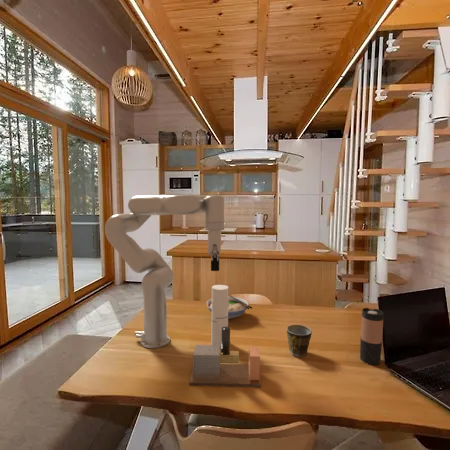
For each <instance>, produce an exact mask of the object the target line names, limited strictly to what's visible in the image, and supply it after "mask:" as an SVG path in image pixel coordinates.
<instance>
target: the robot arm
mask: <svg viewBox="0 0 450 450" xmlns="http://www.w3.org/2000/svg"><path fill="white" fill-rule="evenodd" d="M127 208H128V210H129V212H128V213H127V212H126V213H118V214H114V215H111V216H110V217H109V218H108V219H107V221H106V222H105V225H104V234H105V237H106V239H107V241H108V243H109V244H110V245H111V246H112V247H113V248H114V249H115V250H116V252H117V253H118V254H119V255H120V257H121V258H122V260H123V261H124V262H125V263H126V265H127V266H129V269H131V270H132V271H133V272H134V273H136V274H141V273H145V272H147V273H146V274H145V275H144V276H143V277H142V280H141V289H142V295H143V330H142V331H140V330H138V331H137V330H135V331H134V336H135V339H140V345H141V346H142V347H144V348H147V349H159V348H162V347H165V346H167V345H168V344H169V343H170V342H171V337H170V335H168V333H167V332H168V331H167V330H168V329H167V324H168V323H167V318H168V317H167V316H168V315H167V297H166V293H165V289H166V288H168V287H169V286H170V285H171V284H172V283H173V282H174V280H175V273H174V271H173V270H172V268H171V267H170V265H169V264H168V263H167V261H165V260H164V258H163V257H162V256H161V254H160V253H159V252H158V251H157V250H155V249H154V248H150V247H149V248H148V247H147V248H144V249H143V248H142V247H141V246H140V245H139V244H138V243H137V242H136V240H135V239H133V237H131V236H130V235H129V234H127V233H132V232H135V231H138V230H139V229H140V228H141V227H142V226H143V225H144V224H145V222H147V221H148V220H149V218H151V217H152V216H168V215H196V214H203V213H205V217H204V218H205V219H204V220H205V231H207V255H208V256H210V257H211V258H210V259H211V261H210V271H211V272H219V271H220V255H221V250H222V249H221V248H222V231H224V230H225V198H224V196H222V195H218V194H217V195H199V194H177V195H176V194H175V195H173V194H172V195H170V194H169V195H167V194H141V195H134V196H132V197H130V199H129V200H128V203H127Z"/></svg>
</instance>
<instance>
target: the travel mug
mask: <svg viewBox="0 0 450 450" xmlns="http://www.w3.org/2000/svg"><path fill="white" fill-rule="evenodd" d="M360 326H361V327H360V339H359V340H360V342H359V343H360V345H359V347H360V348H359V358H360V361H361V360H362V361H361V362H363V361H364V362H365V363H364V362H363V363H364V364H366V363H368V364H367V365H370V364H372V365H371V366H378V365H380V364H379V363H381V356H382V348H383V347H382V345H383V335H384V334H383V332H384V329H383V328H384V311H383V310H380V309H377V308H374V309H372V308H371V309H370V308H369V307H365V308H362V311H361V325H360ZM377 364H378V365H377Z"/></svg>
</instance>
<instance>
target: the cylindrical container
mask: <svg viewBox="0 0 450 450" xmlns="http://www.w3.org/2000/svg"><path fill="white" fill-rule="evenodd" d="M228 294H229V286H228V285H227V284H226V285H225V284H214V285H212V286H211V299H212V313H211V321H210V322H211V325H210V327H211V329H210V330H211V331H210V332H211V334H210V335H211V336H210V338H211V339H210V341H211V342H210V345H220V348H221V341H222V327H229V319H228V296H229V295H228Z"/></svg>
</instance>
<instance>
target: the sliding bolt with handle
mask: <svg viewBox="0 0 450 450" xmlns="http://www.w3.org/2000/svg"><path fill="white" fill-rule="evenodd" d="M220 364H240V351H239V350H231V327H230V326H228V327H222V341H221V347H220Z"/></svg>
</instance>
